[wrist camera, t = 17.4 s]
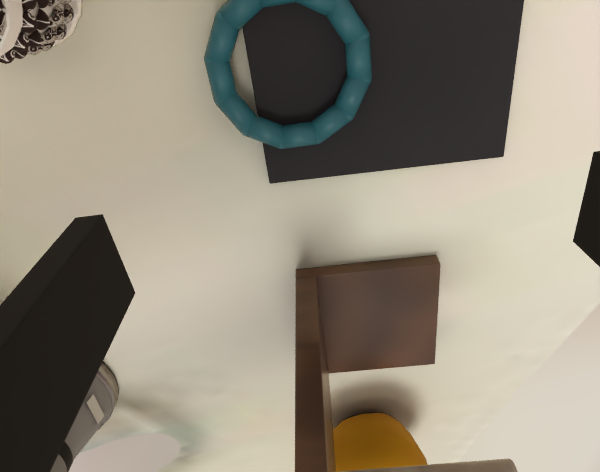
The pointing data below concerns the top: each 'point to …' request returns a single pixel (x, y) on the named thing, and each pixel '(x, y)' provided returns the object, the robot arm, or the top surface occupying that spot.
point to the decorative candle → (35, 25)
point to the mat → (388, 83)
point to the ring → (221, 43)
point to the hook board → (362, 344)
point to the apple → (374, 444)
